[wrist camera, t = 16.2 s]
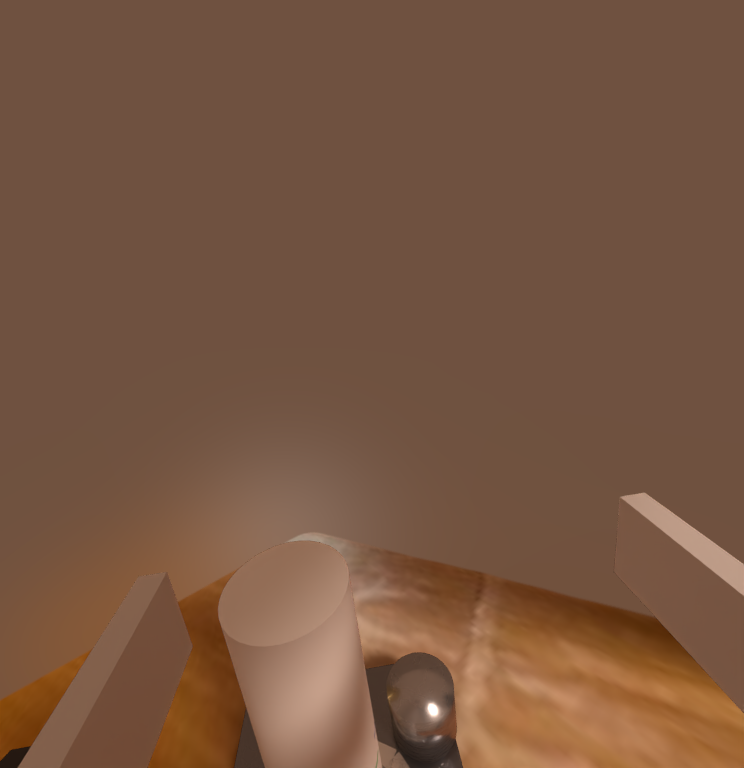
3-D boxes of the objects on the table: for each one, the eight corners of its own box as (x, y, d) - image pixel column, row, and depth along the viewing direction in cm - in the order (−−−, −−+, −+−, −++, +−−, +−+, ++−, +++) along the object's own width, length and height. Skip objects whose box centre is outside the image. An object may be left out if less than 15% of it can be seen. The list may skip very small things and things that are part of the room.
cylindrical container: (385, 777, 33) (344, 531, 25) (404, 911, 26) (354, 628, 18) (301, 798, 32) (233, 552, 24) (297, 942, 25) (201, 661, 18)
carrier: (439, 663, 42) (434, 605, 40) (522, 974, 24) (521, 902, 21) (252, 698, 41) (234, 641, 39) (184, 1053, 23) (142, 986, 20)
